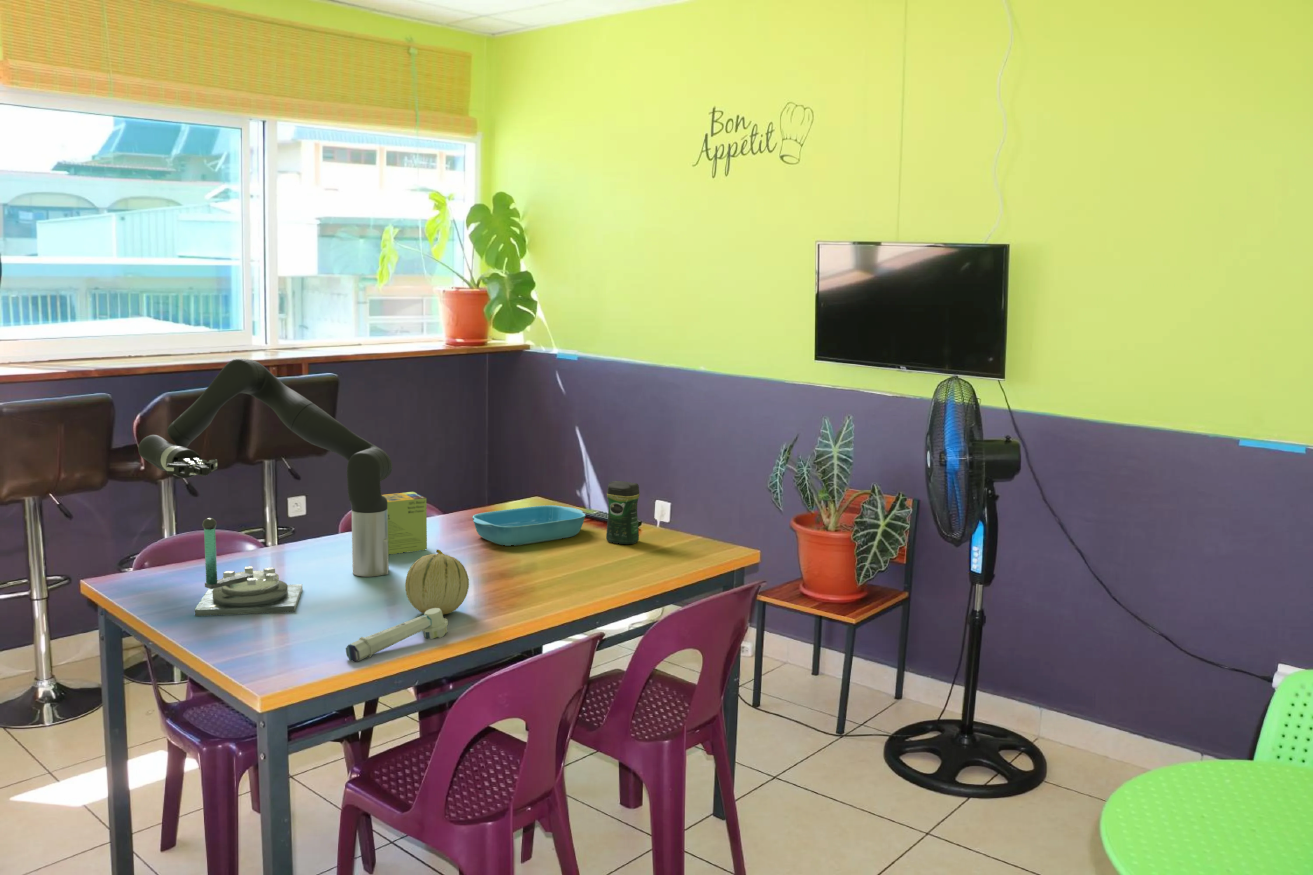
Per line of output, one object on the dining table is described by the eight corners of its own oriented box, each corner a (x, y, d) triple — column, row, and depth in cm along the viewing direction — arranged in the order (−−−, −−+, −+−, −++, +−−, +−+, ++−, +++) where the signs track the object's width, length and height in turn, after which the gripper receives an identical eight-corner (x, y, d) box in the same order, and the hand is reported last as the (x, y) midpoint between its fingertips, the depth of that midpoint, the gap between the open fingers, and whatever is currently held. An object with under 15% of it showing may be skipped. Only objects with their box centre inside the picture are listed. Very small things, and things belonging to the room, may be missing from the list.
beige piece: (342, 641, 226) (435, 599, 244) (346, 670, 228) (438, 626, 246) (357, 647, 223) (450, 604, 241) (362, 676, 224) (454, 631, 243)
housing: (302, 589, 273) (302, 576, 272) (294, 611, 256) (294, 597, 255) (209, 593, 268) (208, 579, 268) (194, 616, 251) (194, 601, 250)
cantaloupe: (412, 626, 247) (411, 563, 245) (400, 608, 260) (399, 547, 258) (475, 619, 253) (475, 557, 251) (461, 601, 266) (460, 542, 264)
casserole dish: (558, 522, 354) (558, 500, 353) (599, 535, 337) (599, 513, 336) (458, 537, 330) (458, 514, 329) (496, 553, 313) (496, 529, 312)
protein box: (427, 550, 314) (427, 497, 312) (376, 556, 306) (375, 503, 303) (414, 542, 323) (413, 491, 320) (363, 548, 314) (362, 496, 312)
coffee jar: (642, 541, 330) (644, 481, 328) (629, 546, 324) (630, 485, 321) (615, 536, 335) (616, 477, 332) (601, 541, 328) (602, 481, 326)
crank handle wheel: (258, 577, 270) (255, 502, 267) (290, 587, 263) (287, 510, 260) (190, 593, 256) (187, 514, 253) (222, 604, 248) (219, 523, 246)
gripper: (153, 449, 275) (176, 459, 262) (206, 444, 283) (231, 454, 271) (154, 478, 276) (178, 489, 263) (207, 473, 285) (232, 483, 272)
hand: (205, 471), depth 267 cm, fingers closed
